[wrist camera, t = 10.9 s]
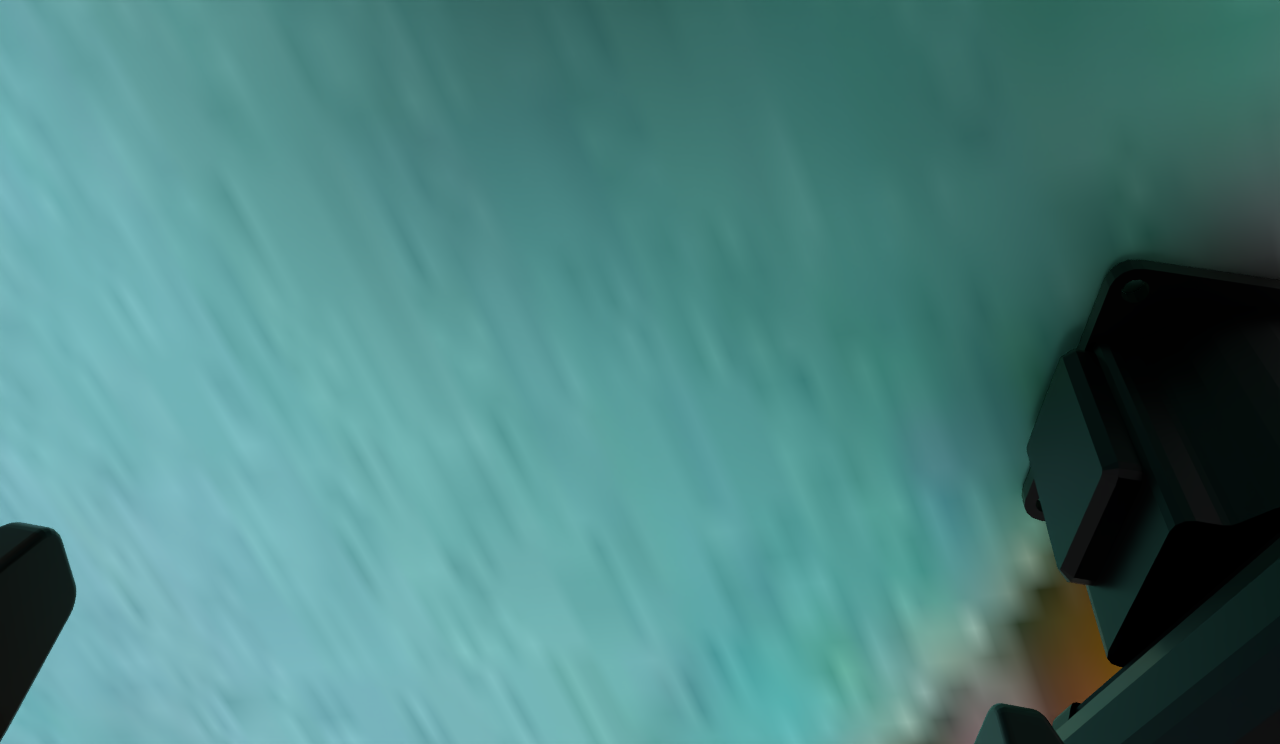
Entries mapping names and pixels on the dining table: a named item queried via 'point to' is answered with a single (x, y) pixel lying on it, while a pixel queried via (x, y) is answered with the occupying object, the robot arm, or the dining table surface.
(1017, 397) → the dining table surface
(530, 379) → the dining table surface
